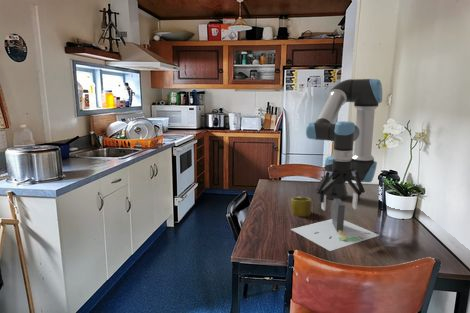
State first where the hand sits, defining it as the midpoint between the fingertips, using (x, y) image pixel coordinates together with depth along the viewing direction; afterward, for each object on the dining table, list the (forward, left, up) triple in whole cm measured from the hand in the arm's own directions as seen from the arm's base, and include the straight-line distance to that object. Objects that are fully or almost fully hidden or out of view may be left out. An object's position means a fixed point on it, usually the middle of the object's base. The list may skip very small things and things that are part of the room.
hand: (338, 209), depth 137 cm
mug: (+1, -22, -9) cm, 24 cm away
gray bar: (+3, +4, -8) cm, 9 cm away
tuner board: (+5, +3, -9) cm, 11 cm away
